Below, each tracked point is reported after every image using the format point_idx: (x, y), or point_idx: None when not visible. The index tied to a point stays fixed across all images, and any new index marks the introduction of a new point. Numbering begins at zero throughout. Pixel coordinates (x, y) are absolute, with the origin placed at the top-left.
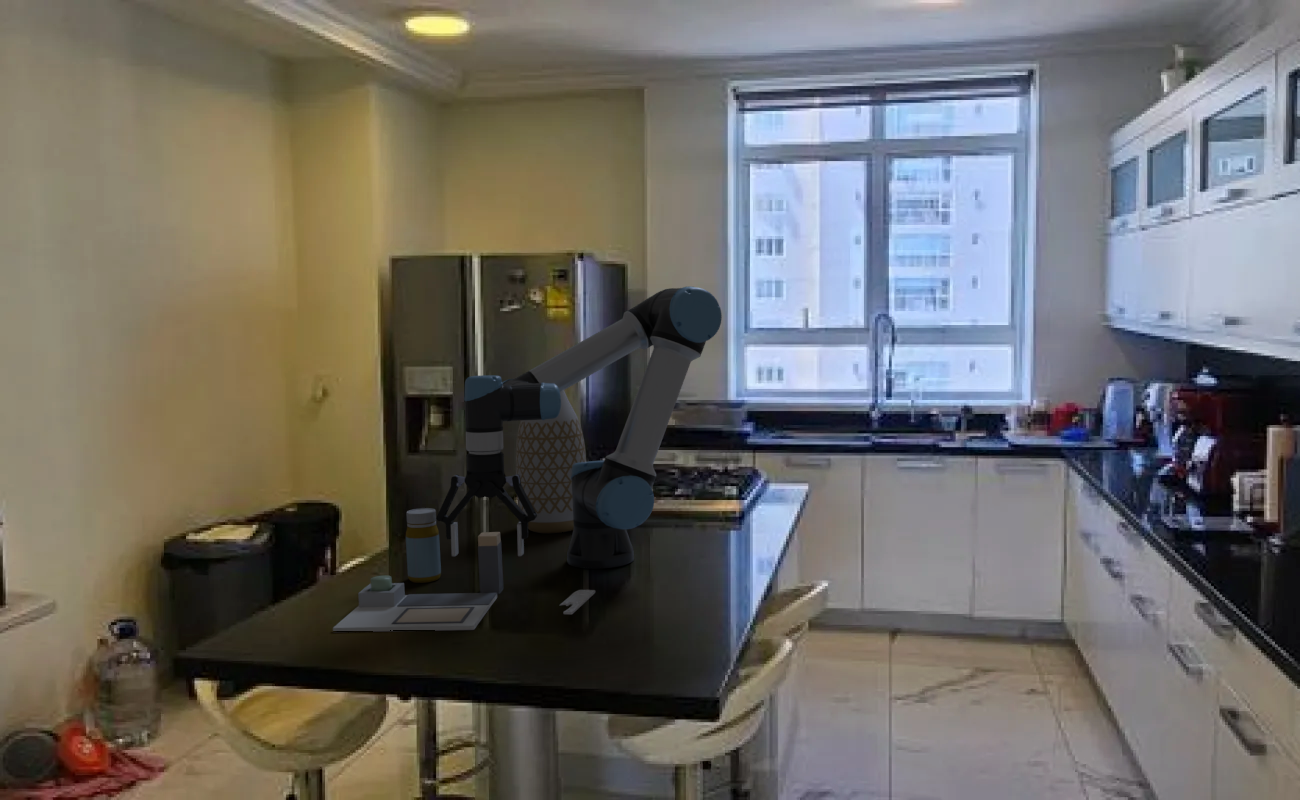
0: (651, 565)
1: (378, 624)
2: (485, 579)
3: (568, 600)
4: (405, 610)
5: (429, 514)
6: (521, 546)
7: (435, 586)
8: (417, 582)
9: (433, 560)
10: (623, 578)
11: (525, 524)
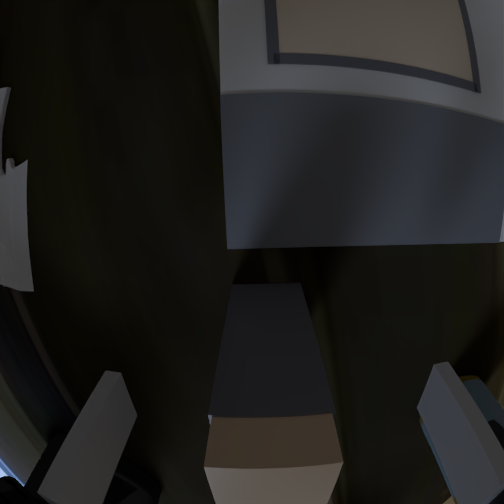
0: (18, 428)
1: None
2: (282, 309)
3: (10, 189)
4: (475, 67)
5: None
6: (88, 403)
7: (434, 356)
8: (466, 375)
9: None
10: (7, 373)
11: (30, 489)
